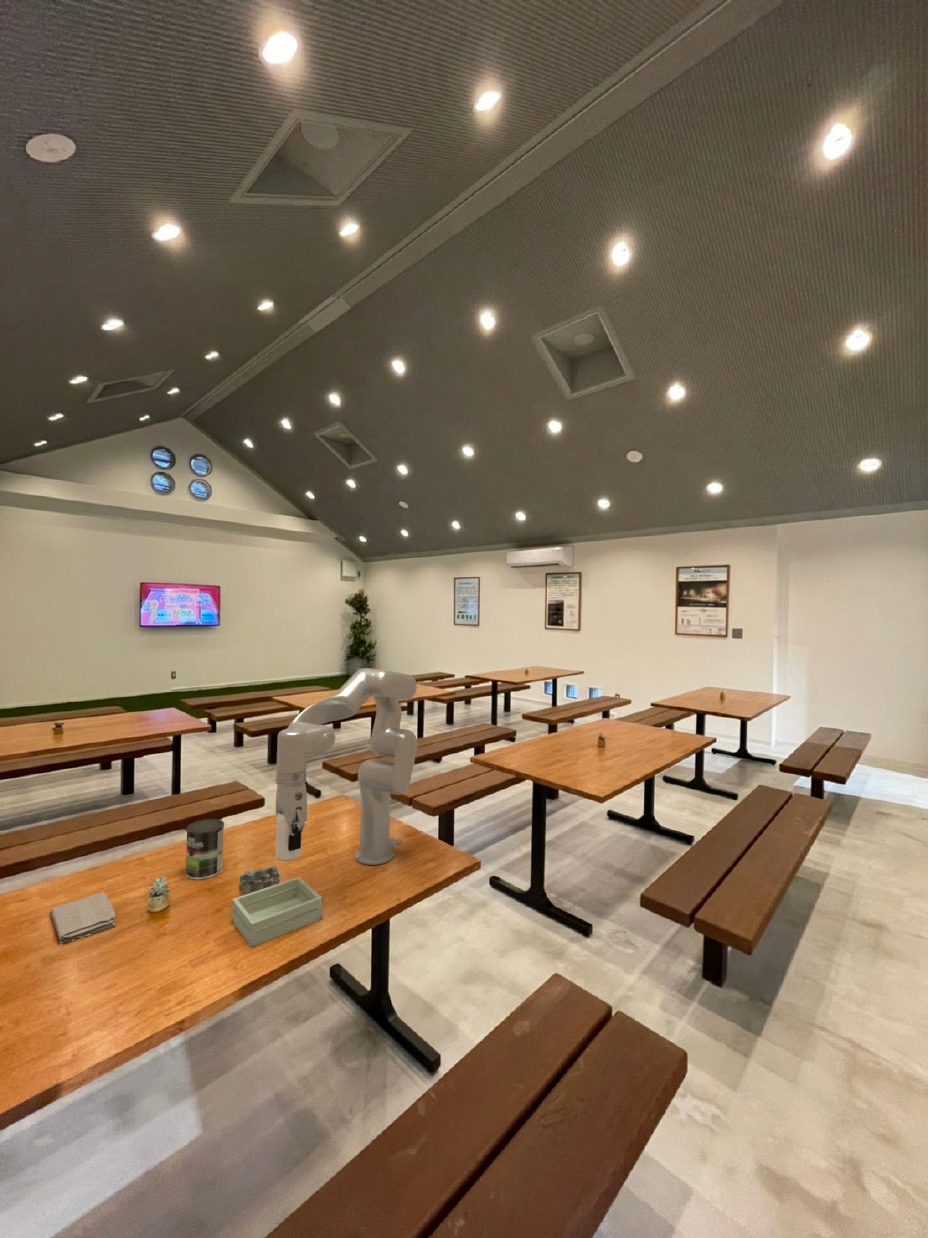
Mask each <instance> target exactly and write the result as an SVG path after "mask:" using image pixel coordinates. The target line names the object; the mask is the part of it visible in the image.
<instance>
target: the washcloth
mask: <svg viewBox="0 0 928 1238" xmlns="http://www.w3.org/2000/svg"><path fill="white" fill-rule="evenodd" d="M49 914H50V917H51V918H50V919H53V920H52V922H53V925H55V926H54V929H55V930H56V934H57V933H58V934H57V937H58V936H59V937H58V941H60V942H59V945H60V944H62V945H63V944H65V943H64V942H66V943H69V942H68V941H71V942H73V941H72V940H73V939H78V938H79V937H82V936H83V937H84V936H85V935H88V934H92V935H96V934H98V933H99V934H100V933H101V932H104V931H107V930H110V929H112V928H114V927H116V921H115V919H114V918H115V917H116V914H115V909H114V905H113V904H112V903H111V901H110V899H109V898H108V897H107V895H106V892H105V891H102V892H98V893H95V894H92V895H89V896H86V897H84V898H81V899H79V900H76V901H74V900H73V901H70V902H68V903H64V904H61V905H58V906H55V907H52V908H51V909H50V913H49ZM113 919H114V920H113ZM84 938H85V937H84ZM78 940H79V939H78Z"/></svg>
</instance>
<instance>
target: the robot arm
mask: <svg viewBox="0 0 928 1238" xmlns="http://www.w3.org/2000/svg"><path fill="white" fill-rule="evenodd" d="M417 689H418V686H417V681H416V679H415V678H414V677H413V676H412V675H410V674H406V673H402V672H397V671H392V670H389V669H381V668H380V669H379V668H371V667H370V668H368V667H364V668H360V669H358V670H356V671H355V672H354V673H353V674H352V676H350V677H349V679H348V680H347V681H346V682H345V683H344V684H343V685H342V686H341V687H340V688H339V689H338V690H337V691H336V692H335V693H334V694H333V695H331V696H328V697H325V698H324V699H321V700H319V701H318V702H315V703H313V704H311V705H310V706H307V707H306V708H304V710H302V711H301V712H300V713H299V714H298V715H297V716H296V717H295V718H294V719H293V720H292V721H291V722H290V724H289V725H288V726H287V728H284V729H282V730H281V731H279V732H278V734H277V749H276V750H277V751H276V770H275V771H276V772H275V773H276V774H275V775H276V776H275V784H276V785H277V787H276V794H275V813H276V817H277V816H278V814H279V812H280V813H282V814H284V817H285V820H286V823H288V824H289V828H290V835H289V841H288V850H289V851H293V850H296V849H300V848H301V849H302V847H301V834H302V835H303V830H304V828H305V827H306V823H305V822H307V820H308V792H307V786H306V782H307V764H308V763H307V762H308V757H307V756H309V755H317V754H324V753H326V752H328V751H330V750H331V749H332V748H333V746H334V745H335V741H336V734H335V732H334V731H333V729H332V728H330V727H328V726H325V725H324V724H327V723H329V722H334V721H340V720H345V719H348V718H351V717H353V716H354V715H356V713H357V712H358V711H359V710H360V709H361V707H363V705H364V704H365V703H366V702H367V701H368V700H369V698H371V697H373V699H374V703H375V706H376V713H375V720H374V724H373V728H372V732H371V736H370V742H369V748H370V751H371V752H373V754H375V755H378V756H382V757H387V758H392V759H393V758H394V761H388V760H383V759H378V758H369V759H367V760H365V761H364V760H363V762H362V763H361V764H360V766H359V768H358V772H357V780H358V786H359V792H360V793H359V794H360V828H359V829H360V830H359V836H360V838H359V848H358V849H357V850H356V851H355V853H354V859H355V860H356V861H357V862H358V863H359V864H363V865H368V866H378V865H382V864H385V863H388V862H389V861H391V860H393V858H394V857H395V851H394V849H393V848H395V847H396V846H400V845H402V843H403V840H402V838H401V837H399V838H396V839H395V838H394V837H390V833H391V829H390V828H391V800H390V798H391V797H390V796H389V794H391V795H398V796H399V795H403V794H405V792H406V791H407V790H408V789H409V786H410V783H411V780H412V776H413V771H414V765H415V760H416V755H417V749H418V742H417V741H418V740H417V736H416V735H415V733H414V732H413V731H412V730H410V729H406V728H400V727H401V722H402V714H403V713H402V707H401V705H400V703H399V701H406V702H407V701H410V700H412V698H413V697H414V696H415V695H416V693H417ZM294 819H297V822H293V820H294ZM295 824H298V825H297V827H295V828H294V829H293V825H295Z"/></svg>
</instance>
